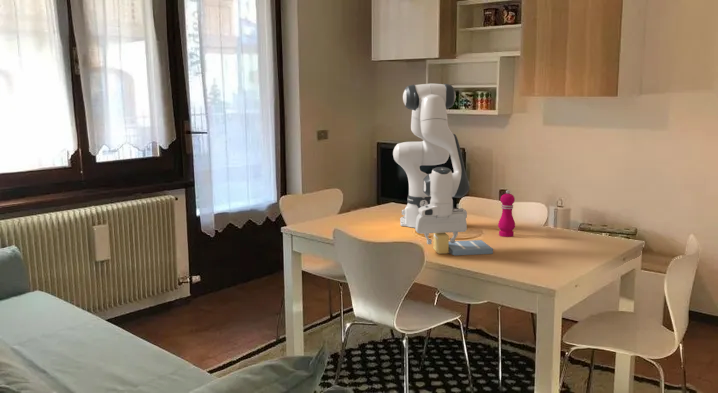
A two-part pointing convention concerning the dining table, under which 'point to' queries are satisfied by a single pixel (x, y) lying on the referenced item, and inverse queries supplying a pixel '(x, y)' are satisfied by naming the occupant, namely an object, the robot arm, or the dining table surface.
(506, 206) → the pepper mill
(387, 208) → the dining table surface
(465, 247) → the board
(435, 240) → the pale yellow block
